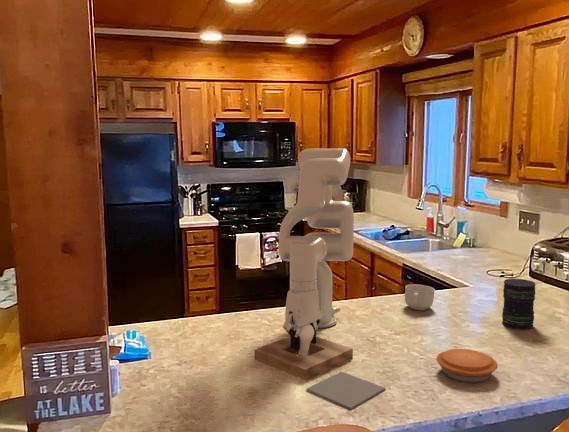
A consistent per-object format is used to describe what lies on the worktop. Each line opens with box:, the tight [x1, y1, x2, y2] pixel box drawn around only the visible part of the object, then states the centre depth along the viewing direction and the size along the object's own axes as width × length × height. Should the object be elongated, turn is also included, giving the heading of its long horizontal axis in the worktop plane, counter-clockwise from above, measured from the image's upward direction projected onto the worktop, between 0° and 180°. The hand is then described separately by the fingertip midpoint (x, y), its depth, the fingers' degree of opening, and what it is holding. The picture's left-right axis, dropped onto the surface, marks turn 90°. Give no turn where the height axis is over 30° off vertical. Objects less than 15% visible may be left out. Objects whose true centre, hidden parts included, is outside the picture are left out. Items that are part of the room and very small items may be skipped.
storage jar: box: [501, 278, 536, 331], centre depth 177 cm, size 10×10×15 cm
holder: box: [253, 335, 354, 381], centre depth 151 cm, size 20×20×3 cm
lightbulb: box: [294, 324, 314, 358], centre depth 150 cm, size 6×6×11 cm
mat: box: [306, 371, 386, 410], centre depth 131 cm, size 14×14×1 cm
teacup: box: [404, 283, 436, 311], centre depth 196 cm, size 14×11×8 cm
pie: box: [436, 348, 499, 384], centre depth 140 cm, size 15×16×5 cm
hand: (303, 345), depth 151 cm, fingers open, 6 cm apart
